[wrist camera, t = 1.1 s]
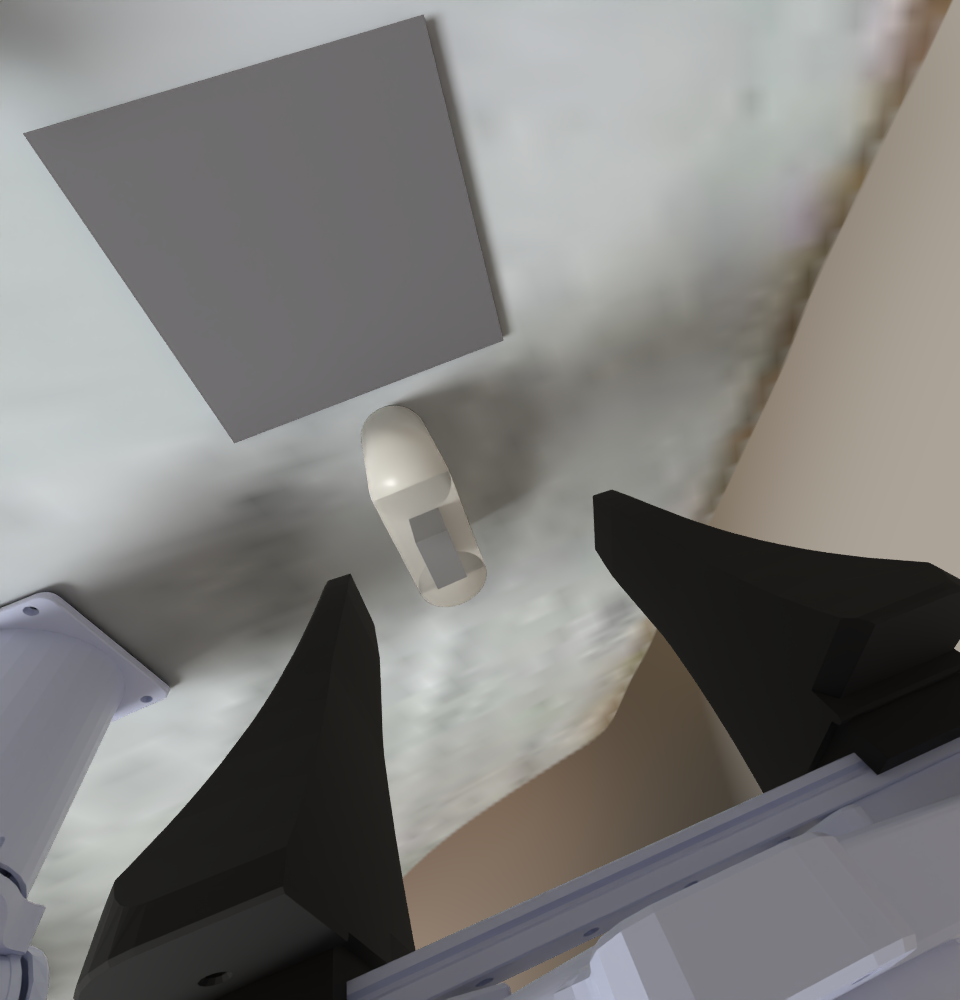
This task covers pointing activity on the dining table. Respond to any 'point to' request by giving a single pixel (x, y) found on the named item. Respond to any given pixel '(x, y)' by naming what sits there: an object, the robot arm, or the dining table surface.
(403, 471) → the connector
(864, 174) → the dining table surface
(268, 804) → the robot arm
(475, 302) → the mat
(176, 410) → the dining table surface
